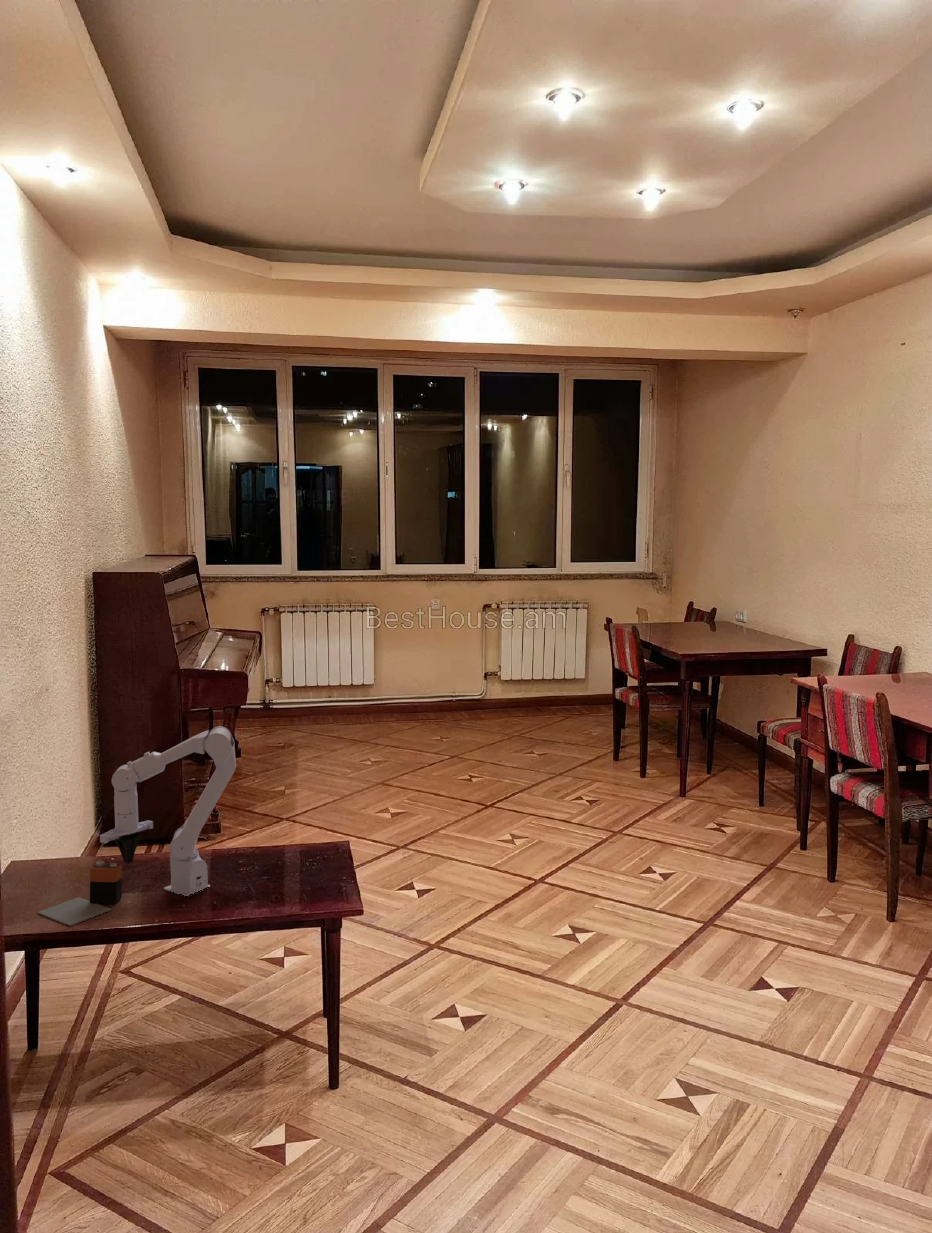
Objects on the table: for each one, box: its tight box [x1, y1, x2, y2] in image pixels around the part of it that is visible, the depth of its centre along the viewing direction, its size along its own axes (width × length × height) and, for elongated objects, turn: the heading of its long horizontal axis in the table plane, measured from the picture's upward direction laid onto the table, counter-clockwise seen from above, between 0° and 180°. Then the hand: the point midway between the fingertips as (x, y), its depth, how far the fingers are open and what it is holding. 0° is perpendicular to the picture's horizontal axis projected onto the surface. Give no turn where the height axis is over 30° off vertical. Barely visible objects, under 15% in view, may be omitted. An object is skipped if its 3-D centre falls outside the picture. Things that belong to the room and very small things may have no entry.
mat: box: [37, 896, 112, 927], centre depth 216 cm, size 14×11×1 cm
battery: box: [89, 860, 123, 905], centre depth 222 cm, size 4×7×10 cm, turn 91°
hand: (128, 862), depth 227 cm, fingers closed
